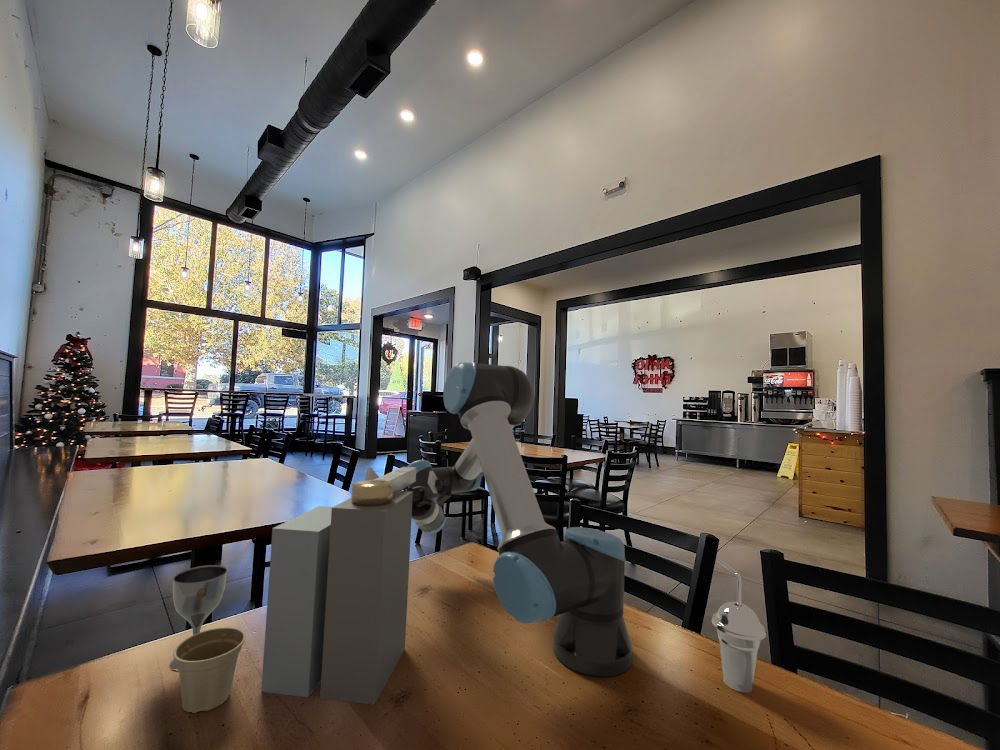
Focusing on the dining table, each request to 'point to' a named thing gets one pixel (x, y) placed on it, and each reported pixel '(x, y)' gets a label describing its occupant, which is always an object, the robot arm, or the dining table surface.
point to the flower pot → (208, 667)
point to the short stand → (297, 604)
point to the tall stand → (365, 598)
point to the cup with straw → (738, 639)
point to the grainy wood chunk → (382, 487)
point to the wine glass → (198, 594)
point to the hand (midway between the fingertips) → (398, 475)
